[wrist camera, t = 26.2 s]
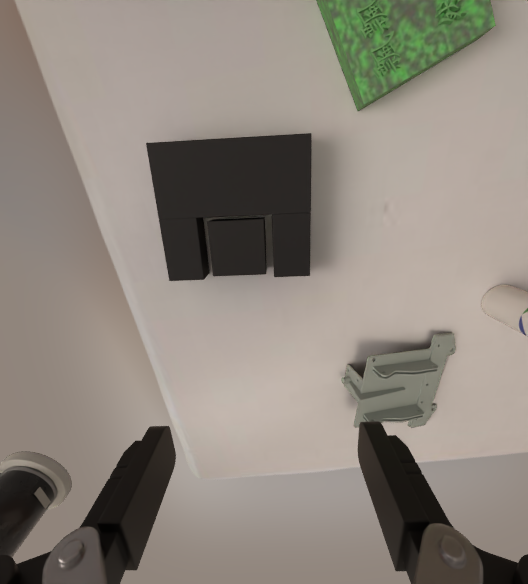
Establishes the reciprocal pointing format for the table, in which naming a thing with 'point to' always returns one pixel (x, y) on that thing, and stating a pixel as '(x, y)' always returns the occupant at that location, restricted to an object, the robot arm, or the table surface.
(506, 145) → the table surface
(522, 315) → the tube
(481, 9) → the green jade tablet
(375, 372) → the metal bracket
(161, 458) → the robot arm
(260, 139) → the black flat notched block
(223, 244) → the small black block
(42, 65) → the table surface
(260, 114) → the table surface
